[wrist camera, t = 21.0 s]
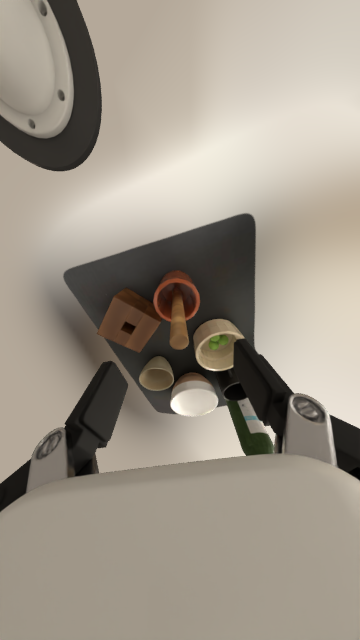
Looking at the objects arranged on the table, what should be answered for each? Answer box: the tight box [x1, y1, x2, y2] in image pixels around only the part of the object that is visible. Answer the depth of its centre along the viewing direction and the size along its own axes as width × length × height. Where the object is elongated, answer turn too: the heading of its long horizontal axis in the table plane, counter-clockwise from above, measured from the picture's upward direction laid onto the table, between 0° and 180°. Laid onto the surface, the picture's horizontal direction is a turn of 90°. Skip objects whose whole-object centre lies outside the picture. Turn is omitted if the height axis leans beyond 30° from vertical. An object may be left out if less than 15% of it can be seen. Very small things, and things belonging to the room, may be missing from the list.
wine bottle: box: [225, 398, 274, 456], centre depth 37 cm, size 8×8×30 cm
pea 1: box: [210, 335, 220, 342], centre depth 36 cm, size 3×3×3 cm
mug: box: [215, 367, 248, 401], centre depth 41 cm, size 9×12×9 cm
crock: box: [153, 271, 200, 322], centre depth 27 cm, size 8×8×10 cm
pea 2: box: [209, 341, 219, 350], centre depth 38 cm, size 3×3×3 cm
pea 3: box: [218, 335, 229, 345], centre depth 37 cm, size 3×3×3 cm
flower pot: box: [139, 356, 174, 391], centre depth 40 cm, size 10×10×7 cm
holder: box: [97, 288, 162, 353], centre depth 31 cm, size 11×11×7 cm
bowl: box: [170, 373, 218, 416], centre depth 45 cm, size 16×16×8 cm
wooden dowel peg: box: [170, 286, 189, 349], centre depth 22 cm, size 2×2×20 cm
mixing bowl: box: [193, 319, 244, 371], centre depth 36 cm, size 13×13×7 cm
